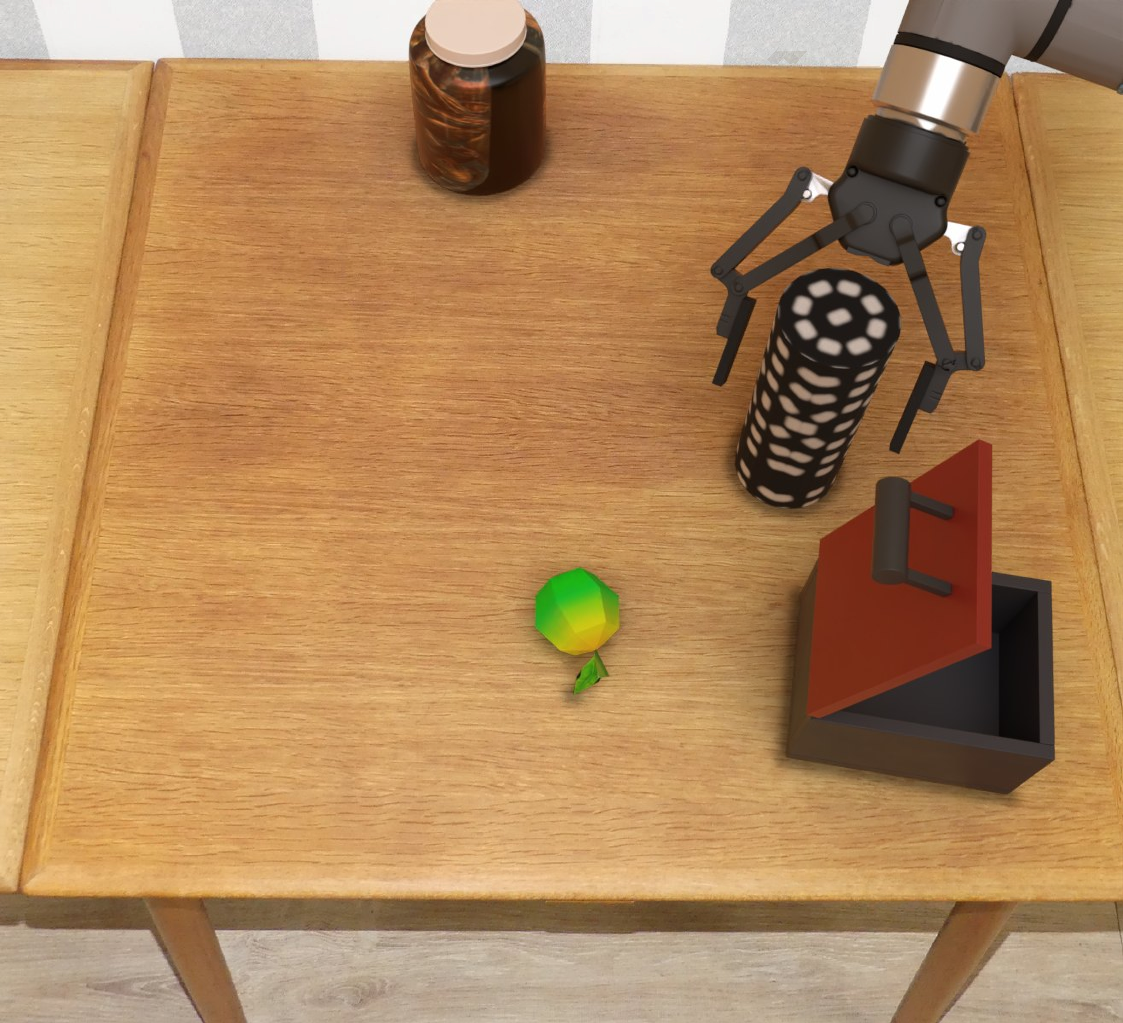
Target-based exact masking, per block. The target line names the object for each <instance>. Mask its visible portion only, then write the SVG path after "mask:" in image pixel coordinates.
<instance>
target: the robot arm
mask: <svg viewBox="0 0 1123 1023" xmlns="http://www.w3.org/2000/svg"><path fill="white" fill-rule="evenodd" d="M1012 56H1014V57H1017V58H1019V59H1022V60H1025V61H1029V62H1031V63H1036V64H1038V65H1042V66H1044V67H1047V68H1049V69H1052V70H1056V71H1058V72H1061V73H1064V74H1067V75H1069V76H1072V77H1076V78H1078V79H1081V80H1083V81H1087V82H1090V83H1092V84H1096V85H1098V86H1101V87H1104V88H1106V89H1109V90H1111V91H1115V92H1116V94H1117V95H1120V96H1123V0H908V2H907V4H906V8H905V10H904V13H903V15H902V18H901V21H900V24H899V27H898V28H897V32H896V34H895V38H894V40H893V43H892V44H891V46H890V48H889V51H888V54H887V57H886V59H885V62H884V64H883V67H882V70H881V72H880V75H879V77H878V80H877V82H876V85H875V88H874V91H873V94H872V95H871V99H870V101H871V103H872V105H873V106H874V107H875V108H876V110H875V113H874V114H867V117H864V118H863V120H862V123H861V125H860V128H859V130H858V133H857V135H856V138H855V140H854V144H853V146H852V149H851V152H850V154H849V156H848V159H847V162H846V165H845V167H844V170H843V172H842V173H841V175H839V177H838V178H837V179H836V180H835V181H833V180H830V179H828V178H827V177H824V176H822V175H820V174H818V173H815V172H814V170H813V169H812V168H811V167H807V166H799V167H798V168H797V169H796V170H795V171H794V173H793V175H792V177H791V179H790V181H789V183H788V185H787V188H786V189H785V191H784V192H783V194H782V195H781V196H780V197H779V198H778V199H777V200H776V201H775V202H774V203H773V204H772V205H771V206H770V207H769V208H768V209H767V210H766V211H765V212H764V213H763V214H762V215H761V216H760V217H759V218H758V219H757V220H756V221H755V222H753V224H752V225H751V226H750V227H749V228H748V229H747V230H746V231H745V232H744V233H743V234H742V235H740V237H738V239H737V240H736V241H735V242H734V243H733V244H732V245H731V246H729V248H728V249H727V250H725V252H724V253H723V254H722V255H720V256H719V257H718V258H717V259H716V260H715V261H714V262H713V263H712V264H711V266H710V269H709V271H710V275H711V276H712V277H713V278H714V279H716V280H717V281H719V282H720V283H721V284H722V285H723V286H724V287H725V288H726V291H727V297H726V299H725V302H724V305H723V308H722V309H721V313H720V316H719V319H718V321H717V323H716V326H715V327H716V328H715V330H716V331H715V332H716V336H719V337H722V338H724V339H727V340H726V343H725V346H724V349H723V351H722V354H721V356H720V359H719V362H718V365H717V367H716V370H715V373H714V376H713V378H712V381H711V384H712V385H715V386H718V387H720V388H722V387H723V386H725V384H726V383H727V382H728V380H729V377H730V374H731V371H732V369H733V366H734V363H735V360H736V358H737V355H738V352H739V350H740V348H741V345H742V341H743V339H744V336H745V334H746V331H747V327H748V325H749V323H750V321H751V317H752V314H753V312H754V309H755V306H756V304H757V301H758V299H757V298H754V297H751V296H749V292H751V291H752V290H754V289H756V288H757V287H759V286H761V285H762V284H764V283H766V282H767V281H769V280H771V279H772V278H774V277H776V276H778V275H779V274H781V273H783V272H784V271H786V270H788V269H790V268H792V267H793V266H795V265H797V264H799V263H800V262H801V261H802V262H803V261H804V260H805V259H807V258H809V257H810V256H812V255H814V254H816V253H817V252H819V251H821V250H823V249H824V248H826V247H828V246H830V245H831V244H833V243H834V242H836V241H838V243H839V245H840V246H841V248H842V249H843V250H844V251H846V252H845V253H848V254H851V255H853V256H854V255H855V256H857V257H858V256H859V257H868V258H870V259H872V261H874V262H876V263H877V264H880V265H883V266H885V267H896V266H899V265H902V264H903V266H904V268H905V271H906V274H907V278H908V280H909V283H910V285H911V288H912V291H913V294H914V298H915V301H916V304H917V306H918V309H919V313H920V315H921V318H922V321H923V324H924V327H925V330H926V333H927V335H928V338H929V339H928V340H929V342H930V345H931V348H932V350H933V353H934V356H935V359H936V361H935V363H934V362H931V361H928V360H924V362H923V365H922V366H921V369H920V372H919V374H918V376H917V378H916V381H915V383H914V386H913V388H912V390H911V393H910V395H909V398H908V400H907V402H906V405H905V407H904V409H903V412H902V414H901V416H900V418H899V421H898V424H897V426H896V428H895V430H894V433H893V435H892V438H891V440H890V443H889V447H888V451H889V452H893V453H894V454H898V455H900V453H901V451H902V449H903V446H904V444H905V441H906V439H907V437H908V435H909V432H910V430H911V428H912V425H913V424H914V421H915V418H916V416H917V413H918V411H919V410H920V411H922V412H925V413H928V414H932V413H934V411H936V410H937V408H938V405H939V404H940V401H941V398H942V396H943V394H944V392H945V389H946V387H947V385H948V383H949V380H950V378H951V377H952V375H953V374H954V373H956V372H958V371H972V372H979V371H982V370H983V369H984V367H985V365H986V354H985V353H986V352H985V338H984V323H983V322H984V320H983V308H982V307H983V306H982V292H981V290H982V289H981V274H980V258H981V255H982V252H983V249H984V245H985V243H986V239H987V231H986V229H985V228H984V227H983V226H982V225H979V224H973V225H969V224H964V223H959V222H955V221H950V220H948V210H949V206H950V204H951V201H952V199H953V196H954V194H955V191H956V190H957V186H958V184H959V181H960V179H961V177H962V174H963V172H964V170H965V168H966V165H967V162H968V160H969V157H970V155H971V152H970V151H969V150H970V147H969V146H967V138H972V139H973V138H975V137H977V136H978V135H979V133H980V130H981V129H982V126H983V123H984V121H985V119H986V116H987V114H988V112H989V109H990V107H991V105H992V102H993V100H994V98H995V95H996V93H997V90H998V88H999V85H1000V83H1001V80H1002V77H1003V75H1004V72H1005V71H1006V68H1007V67H1006V66H1007V65H1008V63H1009V61H1010V59H1011V58H1012ZM823 195H824V196H826V198H827V204H828V207H829V211H830V215H831V219H832V222H830V223H829V224H827V225H826V226H824V227H822V228H820V229H819V230H817V231H815V232H814V233H812V234H810V235H809V236H807V237H805V238H804V239H802V240H800V241H799V242H797V243H795V244H794V245H792V246H789V247H788V248H787V249H785V250H783V251H781V252H780V253H778V254H776V255H775V256H773V257H771V258H770V259H768V260H766V261H765V262H763V263H761V264H759V265H758V266H756V267H754V268H753V269H751V270H750V271H747V272H746V273H744V274H742V273H741V272H740V271H739V270H738V269H737V268H738V267H739V266H740V264H741V263H743V262H744V260H746V259H747V258H748V257H749V256H750V255H751V254H752V253H753V252H754V251H755V250H756V249H757V248H758V247H759V246H760V245H761V244H762V243H763V242H764V241H765V240H767V238H768V237H769V236H771V235H772V233H773V232H774V231H775V230H777V228H778V227H780V225H781V224H783V223H784V222H785V221H786V220H787V219H788V218H789V217H790V216H791V215H792V214H793V213H794V212H795V211H796V210H797V209H798V208H799V206H800V205H801V204H802V203H805V204H810V203H814V201H815V200H816V199H818V197H819V196H823ZM943 237H947V238H948V239H949V240H950V249H951V252H952V253H953V254H954V255H955V256H959V277H960V278H959V279H960V293H961V294H960V295H961V307H962V322H963V337H964V338H963V339H964V350H954V348H953V345H952V342H951V339H950V336H949V333H948V330H947V327H946V324H945V320H944V319H943V315H942V312H941V309H940V306H939V303H938V300H937V297H936V294H935V292H934V288H933V286H932V283H931V282H932V281H931V279H930V276H929V274H928V271H927V270H928V269H927V266H926V265H925V261H924V258H923V255H922V251H924V250H926V249H927V248H928V247H930V246H931V245H933V244H935V243H936V242H938V241H939V240H941V239H942V238H943Z"/></svg>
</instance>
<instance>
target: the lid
mask: <svg viewBox="0 0 1123 1023" xmlns="http://www.w3.org/2000/svg"><path fill="white" fill-rule="evenodd" d="M874 490H875V492H874V504H873V505H872V506H870V507H869V508H867V509H866V510H864V511H862V512H861V513H859V514H858V515H856V516H854V517H853V518H852V519H850V520H848V521H847V522H845V523H843V524H842V525H840V526H839V527H837V528H836V529H834V530H833V531H831V532H829V533H828V534H826V535H824V536H823V537H821V538H820V539H819V545H818V546H819V547H818V550H819V551H818V557H819V558H818V557H817V559H818V571H817V584H816V597H815V610H814V623H813V636H812V649H811V661H810V674H809V687H808V700H807V713H806V714H807V715H809V716H813V717H816V718H821V717H824V716H826V715H829V714H831V713H834V712H836V711H838V710H841V709H843V708H846V707H848V706H851V705H853V704H856V703H858V702H860V701H863V700H865V699H868V698H870V697H873V696H875V695H878V694H880V693H882V692H885V691H887V690H890V689H892V688H895V687H897V686H900V685H902V684H905V683H907V682H909V681H912V680H914V679H917V678H919V677H922V676H924V675H927V674H929V673H931V672H934V671H936V670H939V669H941V668H944V667H946V666H949V665H951V664H953V663H956V662H958V661H961V660H963V659H966V658H968V657H971V656H973V655H975V654H978V653H980V652H983V651H985V650H988V649H990V648H991V616H992V572H993V557H992V556H993V444H992V443H990V442H987V441H986V440H983V439H980V438H978V439H977V440H975V441H974V442H972V443H970V444H969V445H967V446H966V447H964V448H962V449H961V450H959V451H958V452H956V453H955V454H953V455H952V456H950V457H948V458H947V459H945V460H943V461H942V462H940V463H938V464H937V465H935V466H933V467H932V468H931V469H929V470H928V471H926V472H925V473H923V474H921V475H920V476H918V477H917V478H914V479H913V480H911V481H909V480H908V479H905V478H903V477H899V476H886V477H881V478H880V479H879V480H877V482H876V483H875V489H874Z"/></svg>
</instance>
